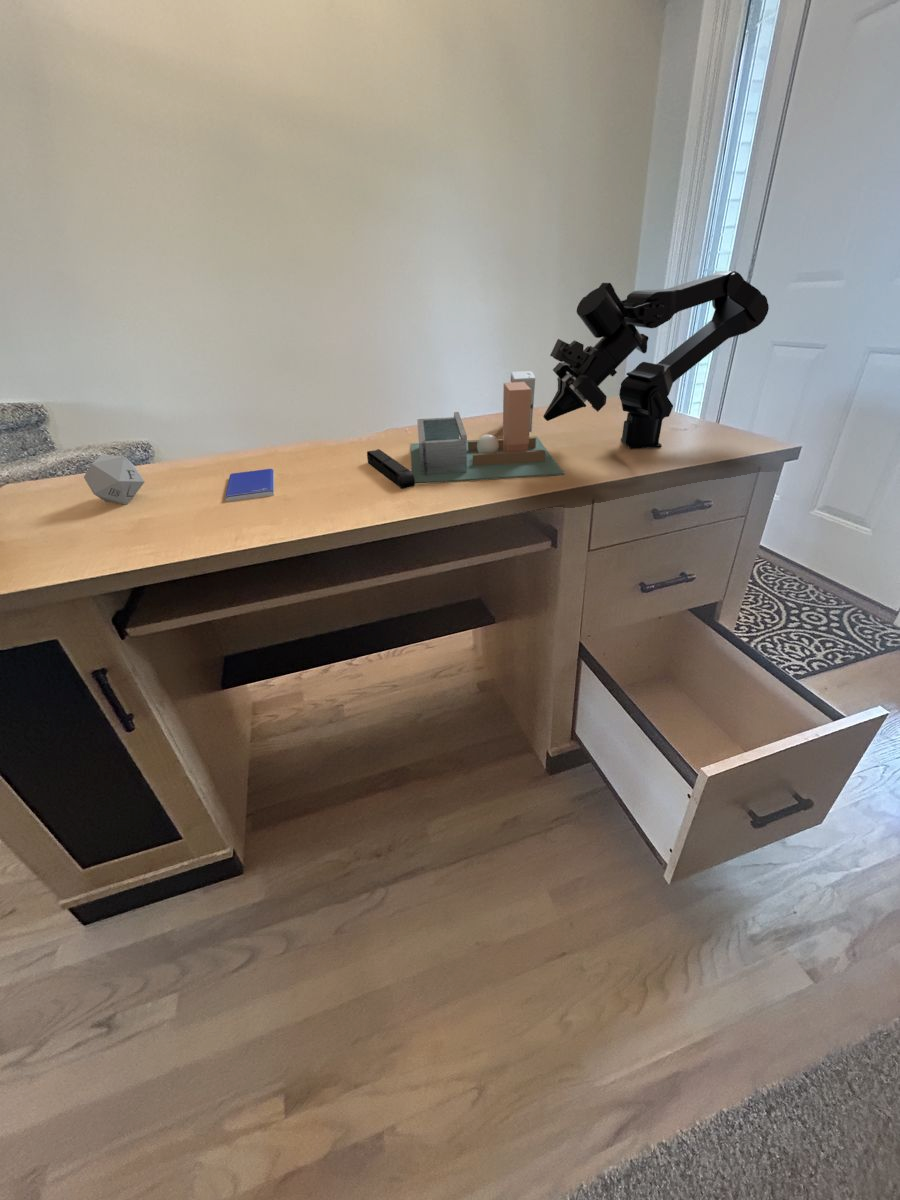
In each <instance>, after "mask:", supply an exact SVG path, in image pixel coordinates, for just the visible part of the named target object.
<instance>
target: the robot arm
mask: <svg viewBox="0 0 900 1200" xmlns="http://www.w3.org/2000/svg"><path fill="white" fill-rule="evenodd" d="M711 301H712V303H711V305H712V307H713V309H714V312H713V314H712V315H713V316H712V318H711V320H710V321H709V322H708V323H706V324H705V325H704V326H702V327H701V328H700V329H699V330H697V331H696V332H695V333H694V334H692V335H691V336H690V337H688V338H687V339H686V340H685V341H684V342H683V343H681V344H680V345H679V346H678V347H676V348H675V349H674V350H673V351H671V352H670V353H669V354H668V355H667V356H664V358H663V359H661V360H660V361H659V362H658V363H652V362H647V361H641V362H640V363H639V364H638V365H637V366H635V368H633V370H632V371H630V372H626V377H625V378H624V379H623V380H622V381H621V383H620V387H619V393H618V395H619V400H620V403H621V408H622V411H623V412H626V413H627V416H626V420H624V421H623V428H622V433H621V435H622V436H621V438H620V442H622V443H623V444H624V445H626V446H627V448H629V449H630V450H637V449H638V450H640V449H654V448H662V443H660V436H661V431H662V425H663V419H665V418H668V417H670V415H671V413H672V411H673V408H674V405H673V403H672V401H671V400H670V399H669V397H668V396H670V392H671V389H672V387H673V384H674V383H675V382H676V381H677V380H678V379H680V378H681V377H682V376H683V375H685V374H686V373H687V372H688V371H689V370H691V369H693V367H695V366H696V365H698V363H700V362H701V361H702V360H703V359H705V358H706V357H707V356H708V355H709V354H711V353H712V352H713V351H715V350H716V349H717V348H718V347H719V346H721V345H722V344H723V343H724V342H726V341H727V340H729V339H731V338H734V337H738V336H741V335H744V334H747V333H749V332H751V331H752V330H754V329H756V328H757V327H758V326H760V325H761V324H762V323H763V322H764V320H765V319H766V317H767V315H768V313H769V309H770V306H769V302H768V299H767V296H766V295H765V294H762V292H761V291H760V289H758V288H756V287H755V286H753V285H752V284H751V283H749V282H747V281H746V280H745V279H744V277H743V276H742V274H741V273H739V272H738V271H735V270H720V271H719V270H718V271H715V272H713V273H712V274H710V275H707V276H703V277H700V278H697V279H693V280H691V281H686V282H684V283H682V284H678V285H675V286H672V287H669V288H663V289H659V288H658V289H643V290H634V291H631V292H630V293H628V295H627V296H626V298H625V299H622V300H621V299H620V297H619V296H618V295H617V293H616V290H615V288H614V286H613V285H612V283H611V282H602V283H601V284H600V285H599V287H597V288H596V289H593V290H591V291H590V292H589V293H588V294H586V296H584V297H582V299H580V301H579V303H578V305H577V306H576V314H577V316H578V317H579V318H580V320H581V321H582V323H584V325H585V327H586V328H587V329H588V330H589V332H590V333H591V334H592V336H593V337H595V338H597V339H598V338H599V339H600V340H599V341H597V342H596V344H595V345H594V346H592V345H590V346H586V348H584V347H585V346H584V343H580V342H579V341H577V340H575V339H574V340H573V341H571V342H570V343H567V341H566V342H565V341H563V340H562V339H560V338H558V339H557V340H556V342H555V343H554V346H553V349H552V351H551V352H550V355H549V356H550V357H552V358H553V359H555V360H556V361H559V362H558V363H557V364H556V365H555V367H554V368H553V369H552V371H553V372H554V374H555V375H556V376H557V391H556V393H555V395H554V397H553V398H552V400H551V402H550V404H549V406H548V407H547V409H546V410H545V412H544V414H543V418H544V420H545V421H547V422H548V421H551V420H554V419H556V418H558V417H561V416H563V415H565V414H568V413H570V412H574V411H576V410H579V409H582V408H586V407H587V404H586V401H588V403H589V404H590V405H591V408H592V409H594V410H595V411H596V412H600V410H601V409H602V408H604V406H606V404H607V395H606V394H605V392H604V391H603V390H601V388H600V387H599V386H600V385H601V384H602V383H603V382H604V381H605V380H606V379H607V378H608V377H609V376H611V377H614V376H616V374H617V373H618V372H617V371H616V369H617V368H618V367H619V366H620V365H621V364H622V363H623V362H624V361H625V360H626V359H627V358H628V357H629V356H630V355H631V354H632V353H633V352H634V351H635V350H636V351H637V350H638V351H639V352H641V353H642V354H647V351H648V342H649V336H648V335H646V334H645V333H640V332H639V330H638V329H637V328H644V329H656V328H658V327H660V326H661V325H664V324H665V323H667V322H668V321H670V320H671V319H672V318H673V316H674V315H675V314H677V313H679V312H682V311H684V310H687V309H690V308H693V307H697V306H700V305H702V304H706V303H707V302H711ZM636 327H637V328H636Z"/></svg>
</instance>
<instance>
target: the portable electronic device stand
mask: <svg viewBox="0 0 900 1200" xmlns="http://www.w3.org/2000/svg"><path fill="white" fill-rule="evenodd" d="M366 457H367V464H368V465H369V466H371V467H372V468H373V469H375V470H376V471H377V472H379V473H380V474H381V475H383V476H384V477H385V478H386V479H388V480H389V481H391V482H392V483H393V484H394V485H396V486H397V487H398V488H400V489H401V490H404V489H409V488H414V487H415V485H416V484H415V479H414V475H413V473H412V472H411V470H410V469H409V468H407V467H406V466H404V465H403V464H401V463H400V462H398V461H397V460H396V459H394V458H392V457H391V456H390V455H389V454H387V453H385V452H384V451H383V450H381V449H379V448H378V449H373V450H369V451H367V452H366Z"/></svg>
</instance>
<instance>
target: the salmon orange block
mask: <svg viewBox="0 0 900 1200" xmlns="http://www.w3.org/2000/svg"><path fill="white" fill-rule="evenodd" d="M502 405H503V406H502V411H503V412H502V436H503V438H504V439H503V451H504V452H513V451H528V444H529V437H530V432H529V429H530V407H531V388H530V387H529V386H528V385H527V384H526V383H525V382H512V383H511V382H504V383H503V403H502Z"/></svg>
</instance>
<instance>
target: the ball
mask: <svg viewBox="0 0 900 1200" xmlns="http://www.w3.org/2000/svg"><path fill="white" fill-rule="evenodd" d="M497 439H498V438H497V437H496V436H495V435H493V434H489V433H487V434H483V435H482V436H480V438H479V439H477V440H478V443H477V450H478V452H479V453H497V451H498V449H499V442H498V440H497Z"/></svg>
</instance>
